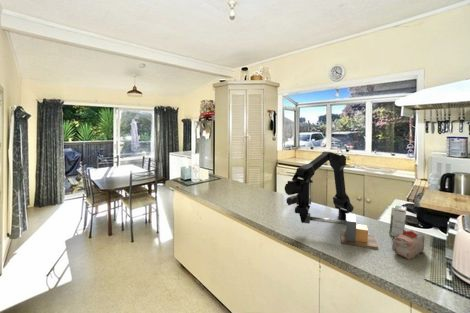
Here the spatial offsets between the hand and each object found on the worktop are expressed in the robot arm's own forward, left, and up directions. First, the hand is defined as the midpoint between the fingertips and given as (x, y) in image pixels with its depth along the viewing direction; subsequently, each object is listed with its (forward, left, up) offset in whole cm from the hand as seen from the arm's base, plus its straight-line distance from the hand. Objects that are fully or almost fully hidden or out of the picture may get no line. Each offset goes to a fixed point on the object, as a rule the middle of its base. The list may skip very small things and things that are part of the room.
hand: (303, 221), depth 124 cm
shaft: (0, +10, 0) cm, 10 cm away
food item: (+5, +44, -6) cm, 45 cm away
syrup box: (-13, +44, -6) cm, 46 cm away
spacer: (0, +27, -5) cm, 27 cm away
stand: (0, +26, -6) cm, 26 cm away
